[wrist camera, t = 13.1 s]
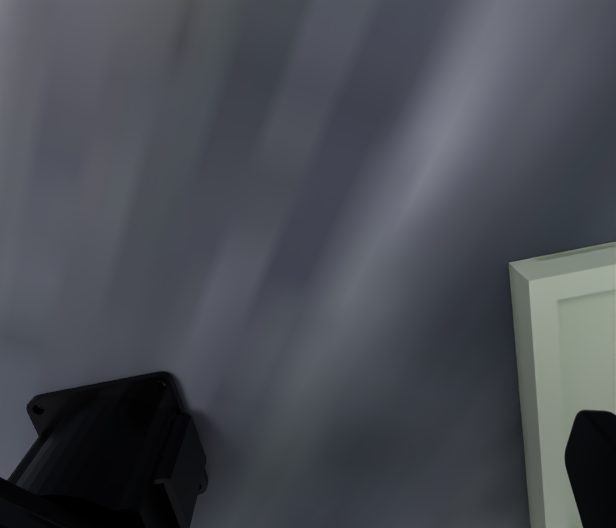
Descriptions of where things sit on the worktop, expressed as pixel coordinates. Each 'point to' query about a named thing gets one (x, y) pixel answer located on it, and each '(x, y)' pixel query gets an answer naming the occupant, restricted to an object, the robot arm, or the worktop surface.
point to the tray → (561, 364)
